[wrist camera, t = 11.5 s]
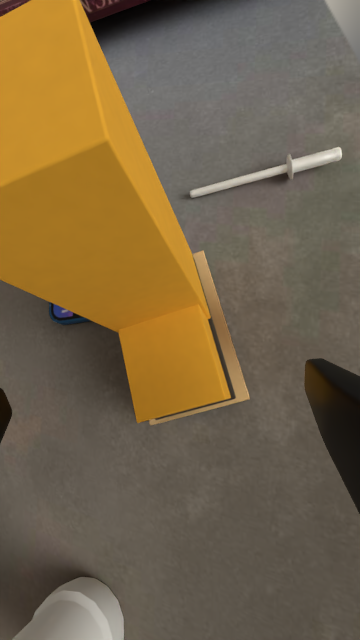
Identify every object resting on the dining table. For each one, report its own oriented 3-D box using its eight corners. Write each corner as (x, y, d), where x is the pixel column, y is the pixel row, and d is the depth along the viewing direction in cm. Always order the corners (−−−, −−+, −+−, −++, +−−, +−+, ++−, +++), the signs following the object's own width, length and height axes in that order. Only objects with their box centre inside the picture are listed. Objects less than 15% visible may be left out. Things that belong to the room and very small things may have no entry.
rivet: (192, 193, 23) (194, 210, 23) (186, 177, 22) (188, 196, 21) (334, 153, 21) (340, 172, 20) (339, 133, 19) (345, 153, 19)
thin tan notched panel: (250, 398, 18) (249, 399, 17) (157, 423, 19) (149, 425, 18) (206, 260, 21) (203, 249, 20) (127, 287, 22) (118, 279, 20)
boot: (128, 281, 20) (-107, 71, 7) (194, 258, 20) (69, -23, 6) (159, 419, 18) (-118, 496, 4) (236, 398, 17) (175, 417, 4)
